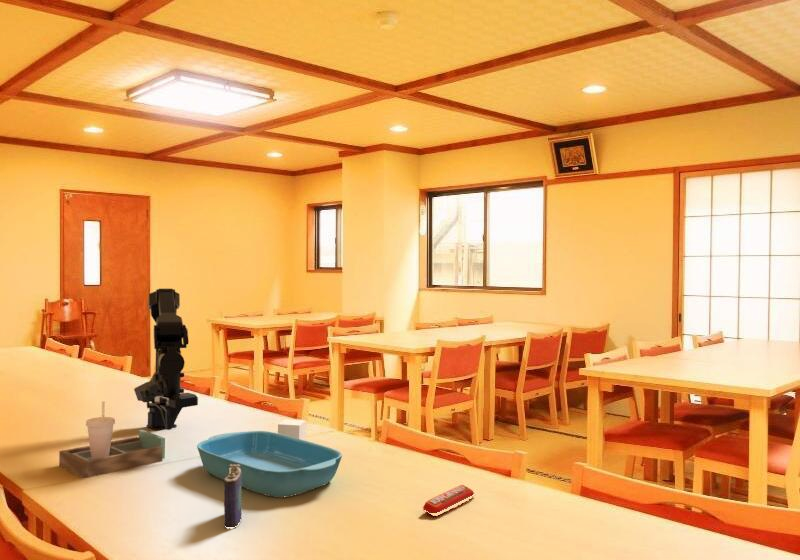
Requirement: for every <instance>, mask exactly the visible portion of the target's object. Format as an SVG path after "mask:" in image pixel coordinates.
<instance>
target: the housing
mask: <svg viewBox="0 0 800 560" xmlns="http://www.w3.org/2000/svg"><path fill="white" fill-rule="evenodd" d="M135 441H139V436H133V437H130V438H123V439H118V440H111V446H114V445H120V444H125V443H130V442H135ZM88 450H90V445H85V446H81V447H75V448H69V449H64V450H59V451H58V452H59V458H58V459H59V461H58V462H59V463H58V464H59V467H61V468H63V469H64V468H65V469H64V470H66V469H67V470H66V471H68V472H70V473H72V474H74V475H75V474H76V475H75V476H77V475H78V476H77V477H79V478H81V477H82V478H81V479H86V477H87V478H90V477H95V475H96V476H99V474H100V475H104V474H105V475H106V474H109V473H113V472H119V471H123V470H127V469H128V470H129V469H131V468H135V467H140V466H146V465H150V464H154V463H160V462H162V461H163V459H162V446H157V447H152V448H147V449H142V450H137V451H132V452H127V453H122V454H117V455H112V456H107V457H102V458H97V459H92V460H87V461H86V460H84V459H82V458H80V457H78V456H75V455H73V454H72V453H78V452H83V451H88Z"/></svg>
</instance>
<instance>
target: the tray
mask: <svg viewBox="0 0 800 560" xmlns="http://www.w3.org/2000/svg"><path fill="white" fill-rule="evenodd" d="M138 437H139V441H135V442H130V443H125V444H120V445H114V446H110V453H109V456H112V455H117V454H122V453H127V452H132V451H137V450H142V449H147V448H152V447H157V446H162V460H163V459H165V457H166V456H165V455H166V438H165V437H164V436H161V435H157V434H155V433H152V432H150V431H147V430H144V429H138ZM72 454H73V455H75V456H78V457H80V458H82V459H84V460H86V461H87V460H92V459H91V451H90V450H88V451H83V452H78V453H72Z"/></svg>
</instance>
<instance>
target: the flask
mask: <svg viewBox="0 0 800 560" xmlns="http://www.w3.org/2000/svg"><path fill="white" fill-rule="evenodd" d="M229 466H230V467H231V468H229V470H228V476H227V477H226V478H225V479H224V480H223V484H224V485H223V486H224V487H223V488H224V490H223V492H224V493H223V494H224V499H223V501H224V503H223V509H224V521H223V523H224V525H225V526H226V527H235V526H237V525H238V523H239V522H240V519H241V520H242V487H241V484H242V480H241V478H242V472H241V469H240V468H239V467H238V466H240V465H238V464H237V465H235V464H234V465H232V464H231V465H229ZM240 523H241V522H240Z"/></svg>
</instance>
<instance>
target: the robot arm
mask: <svg viewBox="0 0 800 560" xmlns="http://www.w3.org/2000/svg"><path fill="white" fill-rule="evenodd" d="M180 297H181V296H180V293H178V292H176V289H175V288H174V289H173V288H157V289H156V290H155V291H153V292H150V293H148V298H147V300H148V301H147V309H148V310H150V316H151V318H152V319H153V321H154V322H155V324H154V325H153V346H154V347H153V348H154V350H155V368H154V369H155V370H154V371H155V372H154V373H153V375H152V377H151V378H150V379H149V381H146V382H144V383H143V384H141V385H139V386H136V387H134V389H133V391H134V394H135V396H136V400H137V401H138V402H142V403H146V409H148V412H147V424H146V427H148V428H150V429H153V430H155V431H159V430H167V431H170V430H172V428H176V427H177V426H178V425H177V424H175V423H176V421H177V419H178V416H179V415H180V413H181V412H182V409H183V408H187V407H193V406H194V407H195V406H198V405H199V397H198V396H197V395H196V394H195V393H191V392H185V389H184V388H182V386H181V385H182V379H181V378H184V377H185V372H182V371H183V369H184V367H185V363H186V362H185V359H184V357H183V356H182V350H181V349H187V345H189V331H188V328H187V327H186V324H183V318H182V317H181V316H180V315H178V314H177V310H179V309H180V305H181V304H180V299H181V298H180Z"/></svg>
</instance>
